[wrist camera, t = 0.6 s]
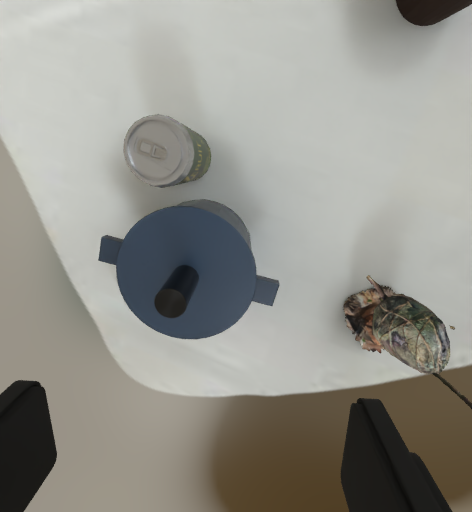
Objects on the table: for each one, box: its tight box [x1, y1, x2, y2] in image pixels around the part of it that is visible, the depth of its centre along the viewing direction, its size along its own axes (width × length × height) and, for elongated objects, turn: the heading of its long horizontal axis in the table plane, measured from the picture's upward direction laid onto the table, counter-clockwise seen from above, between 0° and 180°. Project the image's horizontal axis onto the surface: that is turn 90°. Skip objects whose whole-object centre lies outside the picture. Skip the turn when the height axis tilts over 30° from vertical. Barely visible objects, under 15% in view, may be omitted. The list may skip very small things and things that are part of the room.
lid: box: [116, 206, 257, 339], centre depth 25 cm, size 13×13×7 cm
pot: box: [99, 199, 279, 306], centre depth 32 cm, size 12×17×10 cm
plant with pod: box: [344, 275, 472, 409], centre depth 29 cm, size 8×11×20 cm
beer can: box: [124, 114, 211, 188], centre depth 28 cm, size 5×5×12 cm
